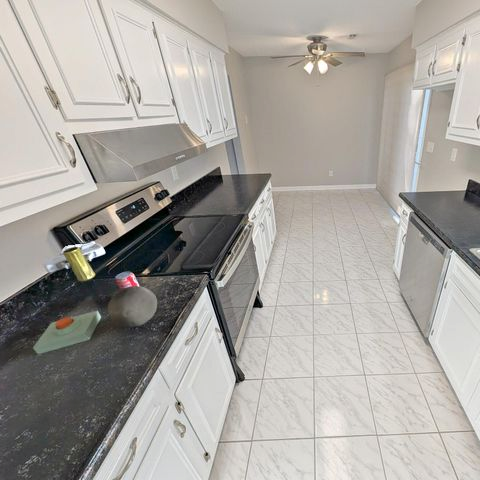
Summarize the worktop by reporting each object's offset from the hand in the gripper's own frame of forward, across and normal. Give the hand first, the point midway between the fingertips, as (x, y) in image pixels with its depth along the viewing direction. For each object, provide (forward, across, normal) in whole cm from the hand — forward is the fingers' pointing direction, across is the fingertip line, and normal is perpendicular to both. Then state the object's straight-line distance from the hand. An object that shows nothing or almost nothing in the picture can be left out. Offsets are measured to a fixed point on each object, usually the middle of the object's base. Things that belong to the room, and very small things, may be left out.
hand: (78, 263), depth 108 cm
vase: (-1, 0, +8) cm, 8 cm away
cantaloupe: (+43, +8, +14) cm, 46 cm away
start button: (+28, -11, +9) cm, 31 cm away
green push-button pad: (+28, -11, +14) cm, 33 cm away
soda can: (+24, +10, +14) cm, 30 cm away
